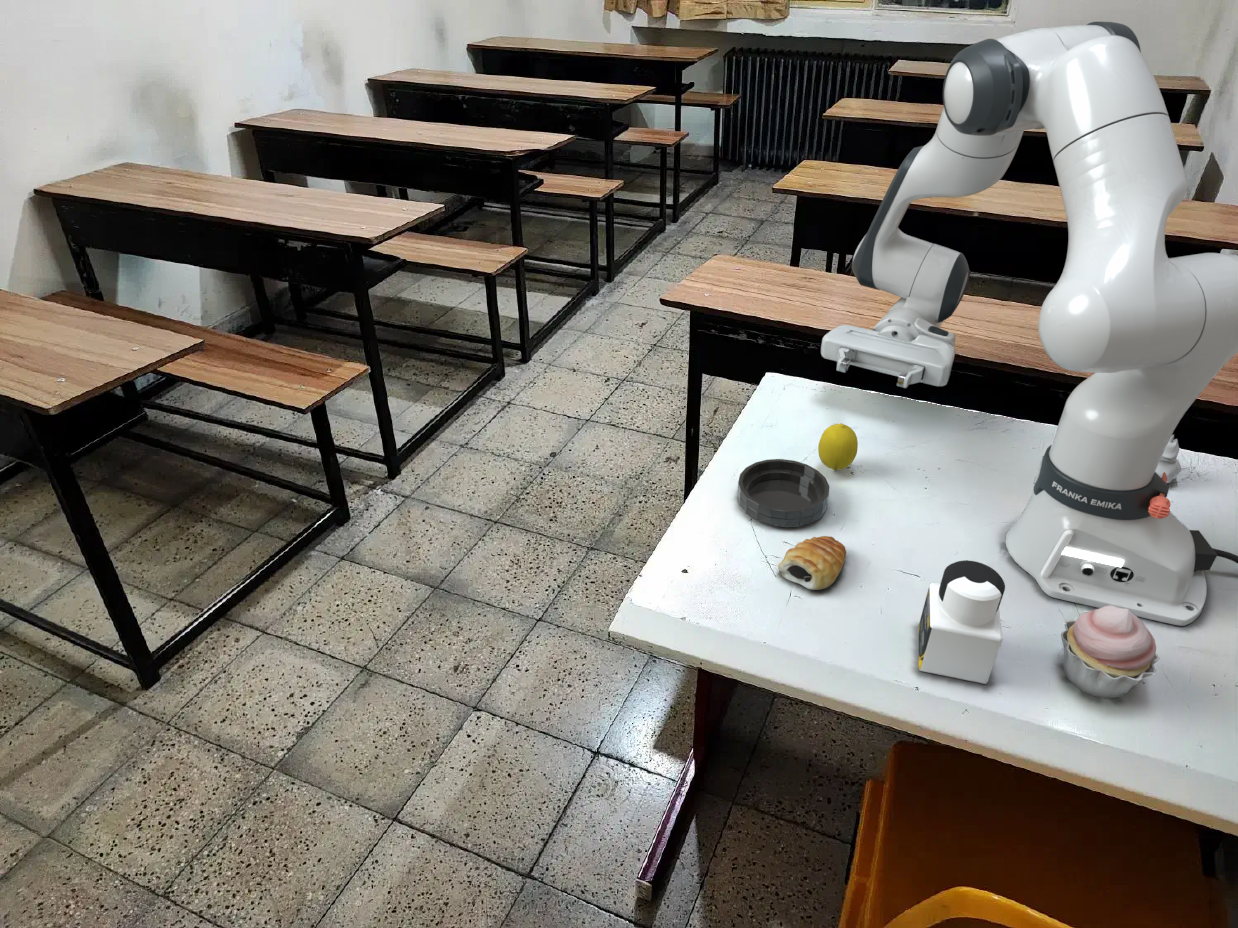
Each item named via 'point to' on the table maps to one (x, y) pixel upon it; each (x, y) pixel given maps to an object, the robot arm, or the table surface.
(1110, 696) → the cupcake
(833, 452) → the lemon
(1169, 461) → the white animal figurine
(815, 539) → the pastry
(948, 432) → the table surface
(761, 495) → the shallow dish
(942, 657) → the medicine bottle
